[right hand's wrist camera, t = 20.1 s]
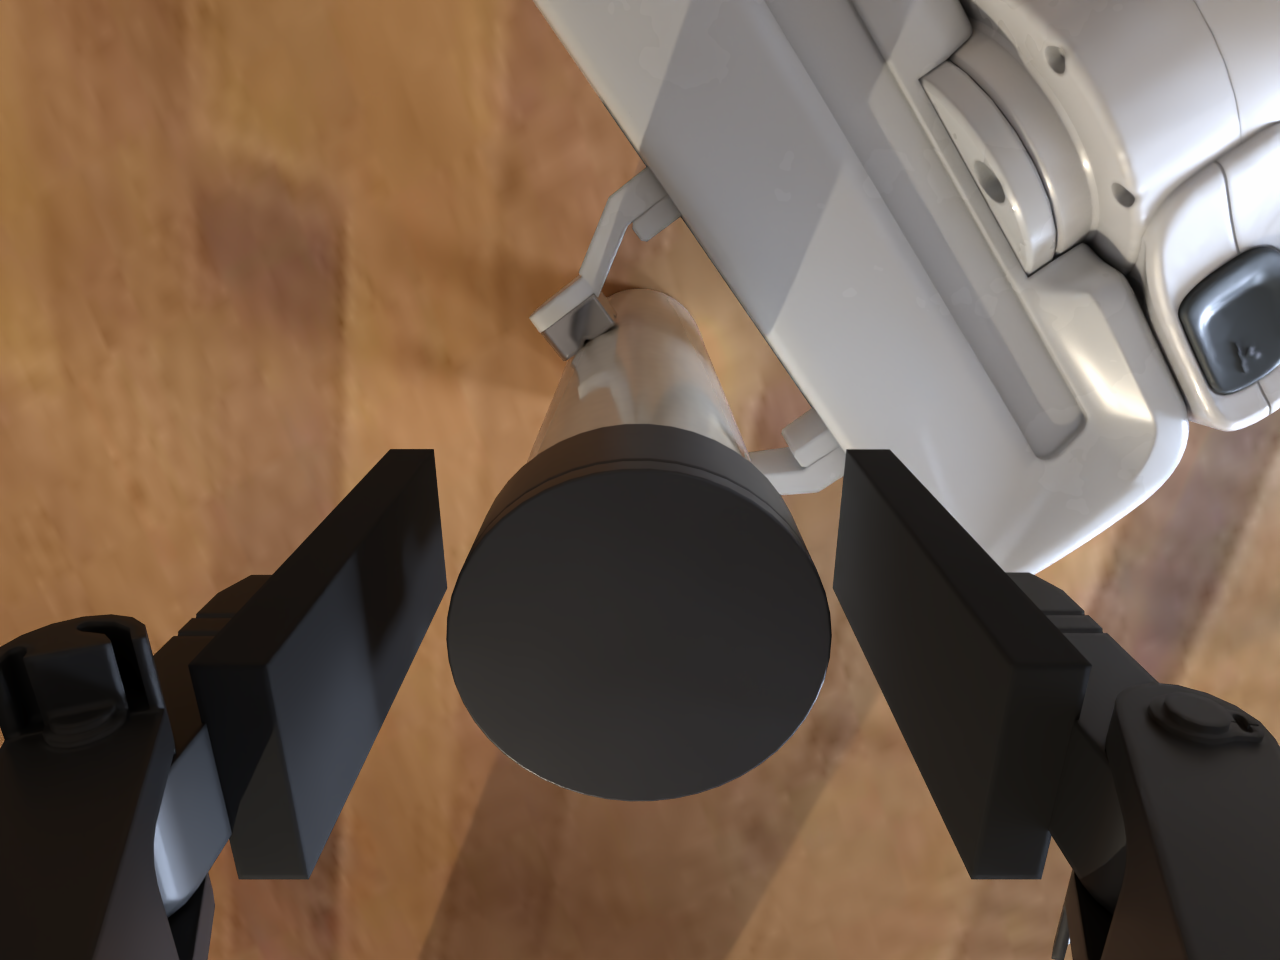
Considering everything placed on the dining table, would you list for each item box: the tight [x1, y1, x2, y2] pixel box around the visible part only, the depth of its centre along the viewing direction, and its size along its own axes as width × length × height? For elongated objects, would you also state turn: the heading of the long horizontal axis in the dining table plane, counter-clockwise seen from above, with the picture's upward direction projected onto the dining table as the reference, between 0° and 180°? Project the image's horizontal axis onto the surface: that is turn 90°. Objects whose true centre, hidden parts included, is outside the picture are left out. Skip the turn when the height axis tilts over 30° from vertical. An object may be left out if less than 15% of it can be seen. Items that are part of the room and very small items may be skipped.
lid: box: [446, 424, 832, 801], centre depth 11 cm, size 5×5×2 cm
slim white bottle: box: [526, 289, 752, 464], centre depth 19 cm, size 4×4×18 cm
